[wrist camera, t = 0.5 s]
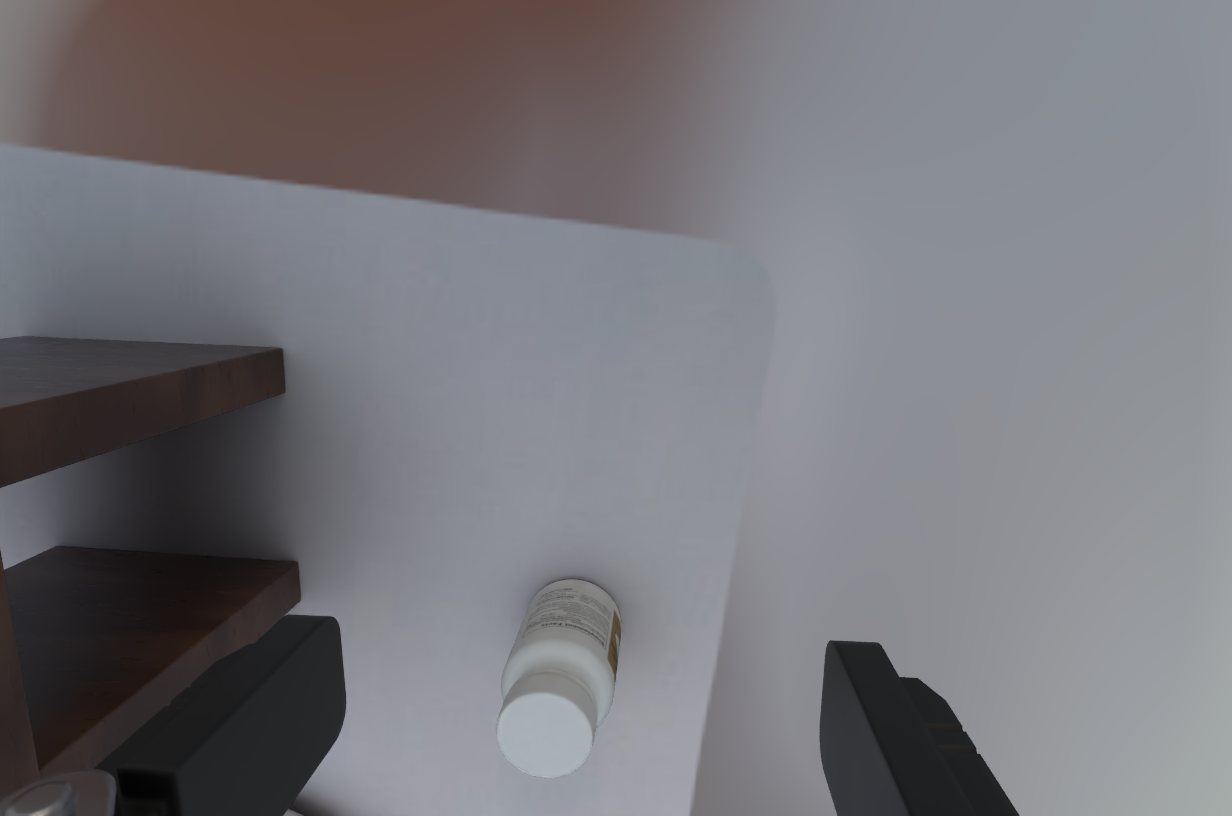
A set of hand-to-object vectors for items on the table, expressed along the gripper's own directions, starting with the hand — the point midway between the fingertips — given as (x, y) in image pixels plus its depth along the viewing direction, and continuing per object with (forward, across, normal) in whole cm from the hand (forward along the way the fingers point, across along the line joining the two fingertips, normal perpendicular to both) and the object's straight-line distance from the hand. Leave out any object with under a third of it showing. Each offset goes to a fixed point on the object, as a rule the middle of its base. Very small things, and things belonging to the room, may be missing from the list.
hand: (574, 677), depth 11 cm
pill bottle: (+18, +3, +9) cm, 21 cm away
